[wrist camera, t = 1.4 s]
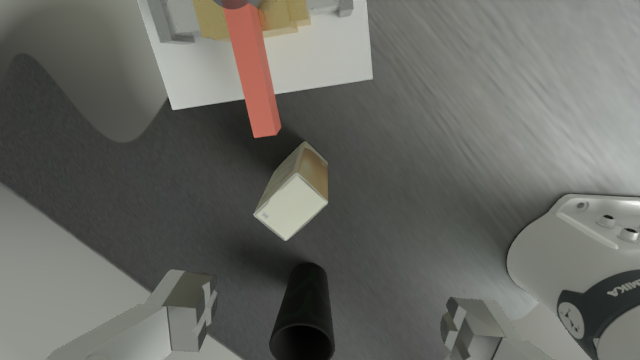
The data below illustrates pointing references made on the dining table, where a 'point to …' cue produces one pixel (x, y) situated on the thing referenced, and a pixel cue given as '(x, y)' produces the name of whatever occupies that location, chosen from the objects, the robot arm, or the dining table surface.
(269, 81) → the lever
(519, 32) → the dining table surface
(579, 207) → the robot arm
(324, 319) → the cup
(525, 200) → the dining table surface
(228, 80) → the board
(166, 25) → the valve
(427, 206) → the dining table surface
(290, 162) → the skincare box
